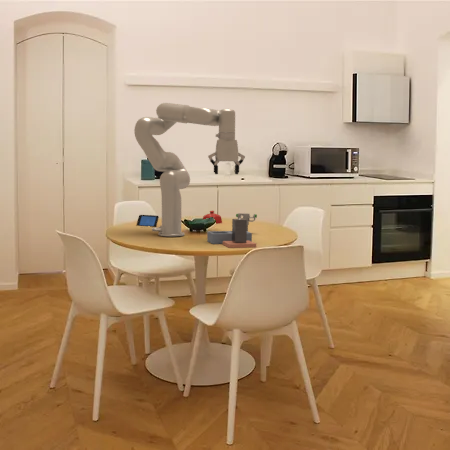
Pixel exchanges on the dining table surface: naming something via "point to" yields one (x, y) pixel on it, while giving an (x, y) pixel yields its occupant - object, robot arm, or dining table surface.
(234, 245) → the terracotta mat
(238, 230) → the block
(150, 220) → the tablet display
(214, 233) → the blue-grey tray
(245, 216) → the mechanical component
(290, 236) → the dining table surface
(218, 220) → the butter dish
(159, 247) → the dining table surface
